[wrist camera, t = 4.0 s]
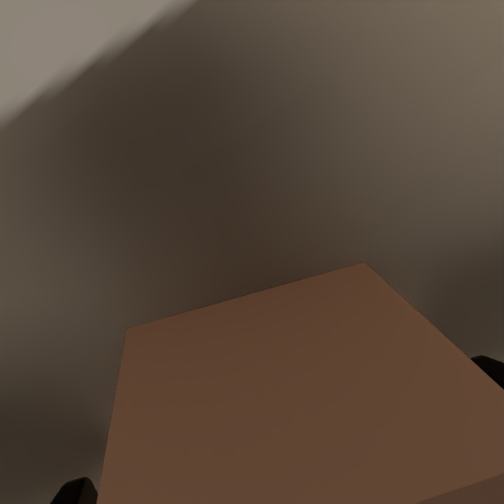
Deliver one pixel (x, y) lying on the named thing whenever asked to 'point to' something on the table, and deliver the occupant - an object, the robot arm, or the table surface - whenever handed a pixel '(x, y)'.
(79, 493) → the robot arm
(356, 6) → the table surface
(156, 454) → the cube
